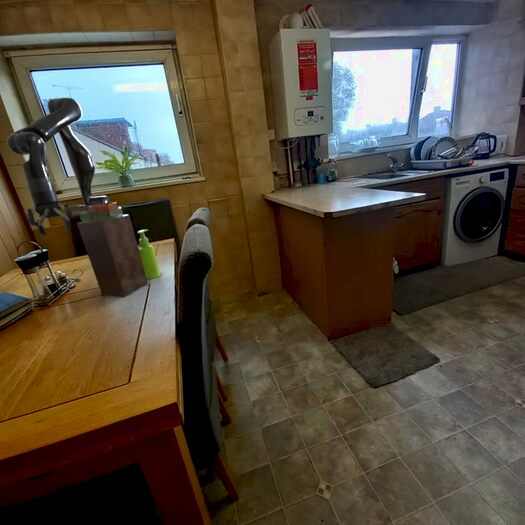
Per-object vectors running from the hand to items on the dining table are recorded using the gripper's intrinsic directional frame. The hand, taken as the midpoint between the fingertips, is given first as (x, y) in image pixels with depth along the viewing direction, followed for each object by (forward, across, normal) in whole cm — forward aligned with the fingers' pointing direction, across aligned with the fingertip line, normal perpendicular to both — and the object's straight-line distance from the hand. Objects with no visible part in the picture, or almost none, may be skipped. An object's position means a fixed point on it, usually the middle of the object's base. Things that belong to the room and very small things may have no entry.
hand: (56, 232), depth 110 cm
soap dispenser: (+23, -21, +24) cm, 40 cm away
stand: (+24, -8, +25) cm, 35 cm away
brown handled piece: (-5, -6, +20) cm, 22 cm away
